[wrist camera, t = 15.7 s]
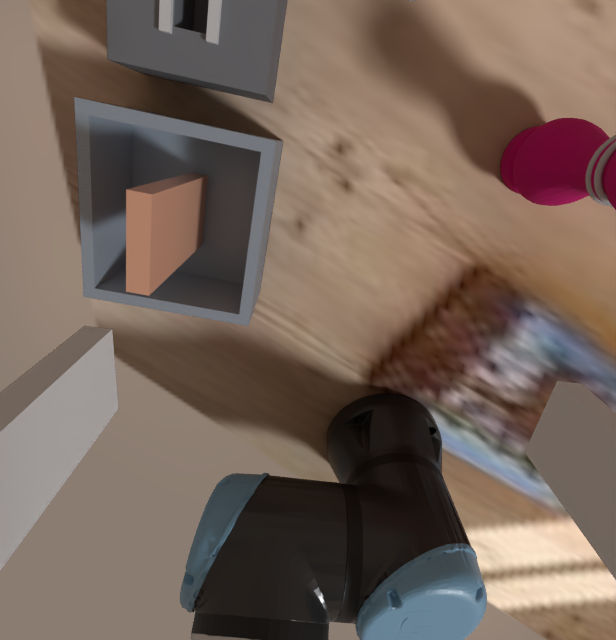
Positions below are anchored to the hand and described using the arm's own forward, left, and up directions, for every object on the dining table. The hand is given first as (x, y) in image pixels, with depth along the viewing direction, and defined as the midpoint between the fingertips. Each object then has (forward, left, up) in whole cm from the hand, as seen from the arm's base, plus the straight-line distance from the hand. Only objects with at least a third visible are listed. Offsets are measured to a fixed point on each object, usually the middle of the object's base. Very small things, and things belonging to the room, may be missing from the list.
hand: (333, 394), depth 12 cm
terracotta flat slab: (-2, +12, -31) cm, 33 cm away
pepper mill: (+9, -20, -32) cm, 39 cm away
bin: (-2, +12, -32) cm, 34 cm away
